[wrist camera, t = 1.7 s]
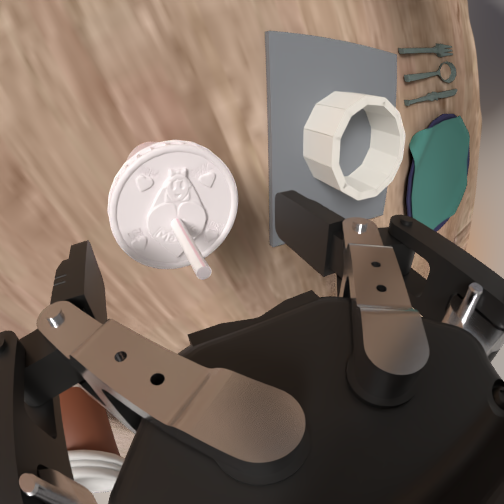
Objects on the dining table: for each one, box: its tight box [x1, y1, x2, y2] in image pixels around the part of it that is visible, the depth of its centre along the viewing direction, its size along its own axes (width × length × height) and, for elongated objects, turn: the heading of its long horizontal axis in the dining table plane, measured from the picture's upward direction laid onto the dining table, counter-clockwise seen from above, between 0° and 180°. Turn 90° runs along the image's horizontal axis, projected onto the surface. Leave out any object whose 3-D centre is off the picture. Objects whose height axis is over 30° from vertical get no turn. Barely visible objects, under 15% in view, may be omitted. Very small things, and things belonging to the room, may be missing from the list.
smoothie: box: [108, 140, 238, 279], centre depth 15 cm, size 6×6×14 cm
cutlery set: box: [398, 44, 470, 231], centre depth 34 cm, size 20×30×2 cm, turn 16°
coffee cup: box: [59, 384, 125, 493], centre depth 24 cm, size 9×9×12 cm
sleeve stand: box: [265, 31, 405, 247], centre depth 25 cm, size 20×16×5 cm
